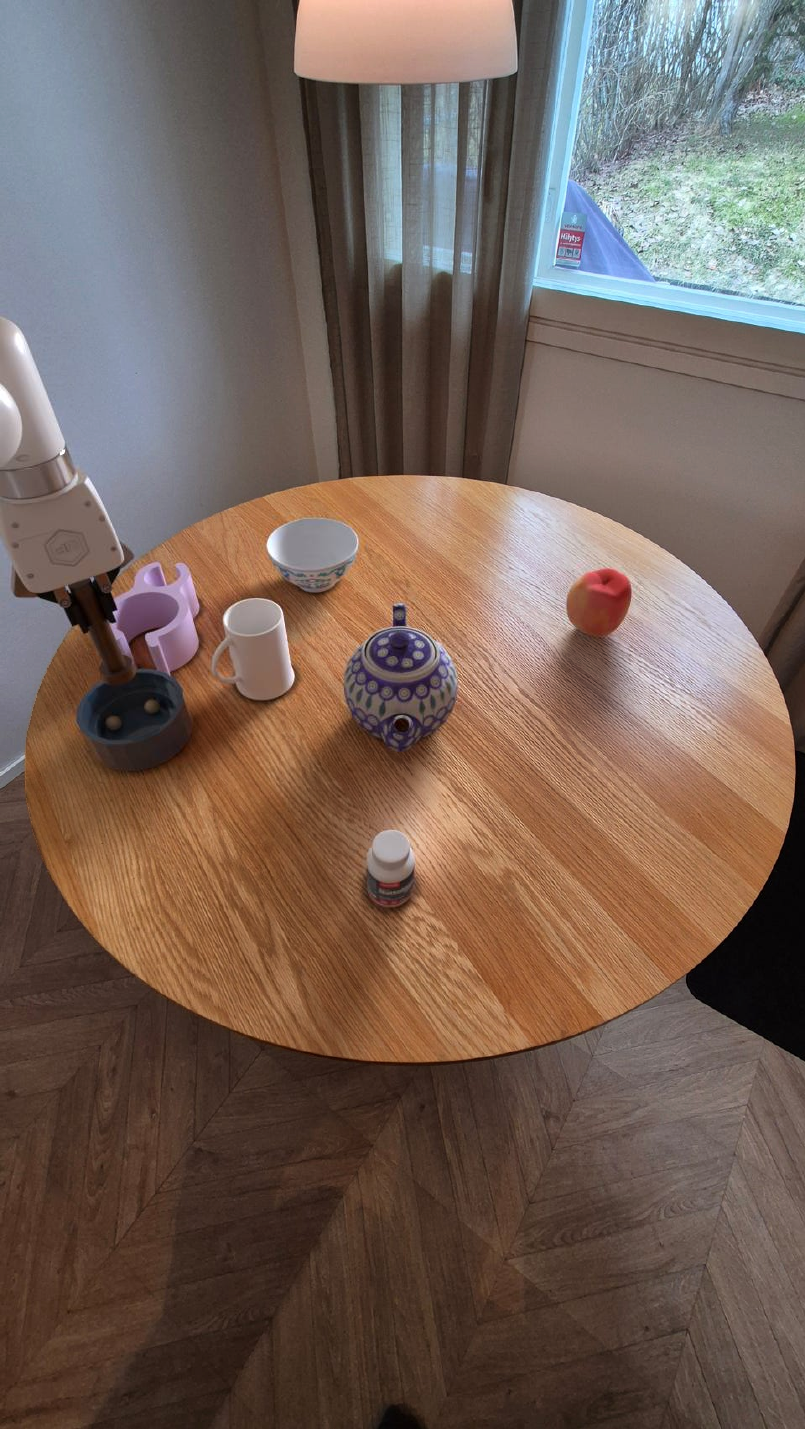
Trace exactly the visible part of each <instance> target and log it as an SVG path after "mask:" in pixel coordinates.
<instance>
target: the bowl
mask: <svg viewBox="0 0 805 1429" xmlns="http://www.w3.org/2000/svg"><path fill="white" fill-rule="evenodd" d="M170 675H171V674H170ZM170 675H169V674H167V673H164V672H161V671H157V670H156V669H152V668H137V669H136V674H135V676H134V678H133V679H132V680H130V681H129V682H127V683H125V684H123V685H118V686H112V685H108V684H106V683H105V682H104V681H103V679H102V680H100V681H99V682H97V683H96V684H95V685H92V687H90V688H89V690H88V691H87V692H86V693H85V694H84V695H83V696H82V697H81V699H80V701H79V704H78V706H77V708H76V713H75V714H76V715H75V722H76V724H77V727H78V729H79V731H80V733H81V734H82V737H83V738H84V740H85V742H86V744H87V746H88V748H89V750H90V752H91V753H92V756H93V757H94V758H95V760H97V762H99V763H100V764H102V765H103V766H105V768H110V769H113V770H116V771H120V772H123V771H124V772H136V771H137V772H138V771H142V770H146V769H151V768H154V767H156V766H159V765H161V764H162V763H163V764H164V763H165V762H167V761H169V760H170V759H172V758H173V757H174V756H175V755H177V754H178V753H179V752H180V751H182V749H183V748H184V746H185V745H186V744H187V743H188V741H189V740H190V738H191V734H192V731H193V728H194V723H193V722H194V721H193V715H192V713H191V709H190V707H189V703H188V701H187V698H186V695H185V692H184V689H183V687H182V685H181V684H180V682H179V681H178V680H177V679H176V678H175V677H173V676H172V675H171V676H170ZM151 699H153V700H156V701H158V703H159V705H160V709H159V711H158V712H157V713H154V714H150V713H148V712H147V711H146V710H145V707H144V706H145V703H146V702H147V701H148V700H151ZM110 716H117V717H119V718H120V719H121V722H122V724H121V727H120V728H119V729H117V730H110V729H108V728H107V727H106V720H107V718H108V717H110Z"/></svg>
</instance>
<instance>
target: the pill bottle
mask: <svg viewBox="0 0 805 1429" xmlns="http://www.w3.org/2000/svg"><path fill="white" fill-rule="evenodd" d="M415 859H416V858H415V854H414V851H413V849H412V848H411V844H410V841H409V838H408V837H407V836H406V834H404V833H403V832H401V831H399V830H395V829H386V830H383V831H381V832H379V833H378V834H376V836H375V837H374V838H373V841H372V844H371V847H370V848H369V850H368V852H367V854H366V860H365V862H366V863H365V865H366V887H367V888H366V890H367V893H368V895H369V897H370V899H372V901H373V902H374V903H376V904H378V905H379V906H382V907H385V908H396V907H398V906H401V905H403V904H404V903H406V902H407V901H408V900H409V899H410V897H411V895H412V894H413V890H414V883H415V882H414V881H415V869H416V868H415V865H416V864H415V863H416V860H415Z"/></svg>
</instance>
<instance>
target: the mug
mask: <svg viewBox="0 0 805 1429" xmlns="http://www.w3.org/2000/svg"><path fill="white" fill-rule="evenodd" d="M222 625H223V626H222V627H223V629H224V633H225V634H224V635H225V638H224V639H223V641H221V643H219V645H218V647H217V648H216V650H215V651H214V654H213V656H212V659H211V671H212V673H213V675H214V677H215V678H216V679H217V680H218V681H219V682H220V683H223V684H228V685H233V684H235V685H236V689H237V690H238V691H239V693H240V694H241V695H243V696H244V697H246V698H248V699H251V700H256V701H268V700H273V699H276V698H278V697H281V696H283V695H284V694H286V693H287V692H288V691H289V690H290V689H291V688H292V687H293V684H294V682H295V671H294V670H293V667H292V662H291V657H290V650H289V643H288V637H287V631H286V625H285V618H284V612H283V610H282V608H281V606H280V605H279V604H278V603H276V602H275V601H273V600H271V599H266V598H259V597H257V598H256V597H254V598H253V597H252V598H246V599H243V600H240V601H238V602H235V603H233V604H232V605H230V606H229V607H228V608H227V609H226V610H225V612H224V613H223V616H222ZM227 648H228V649H229V654H230V658H231V662H232V666H233V671H234V676H232V677H223V676H221V675H220V674H219V673H218V662H219V659H220V656H221V655H222V654H223V652H224V651H225V650H226V649H227Z"/></svg>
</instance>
